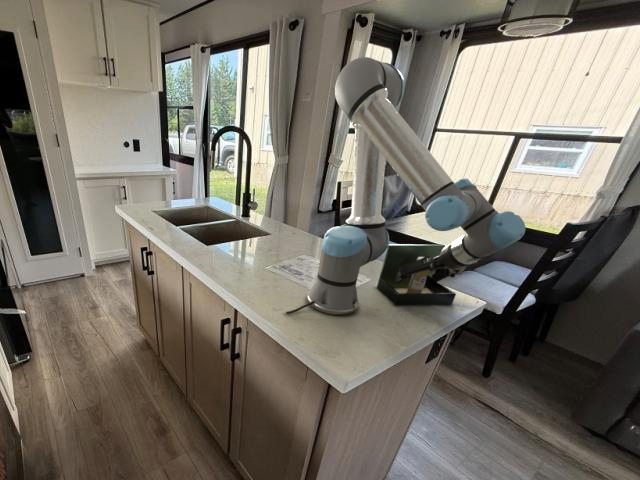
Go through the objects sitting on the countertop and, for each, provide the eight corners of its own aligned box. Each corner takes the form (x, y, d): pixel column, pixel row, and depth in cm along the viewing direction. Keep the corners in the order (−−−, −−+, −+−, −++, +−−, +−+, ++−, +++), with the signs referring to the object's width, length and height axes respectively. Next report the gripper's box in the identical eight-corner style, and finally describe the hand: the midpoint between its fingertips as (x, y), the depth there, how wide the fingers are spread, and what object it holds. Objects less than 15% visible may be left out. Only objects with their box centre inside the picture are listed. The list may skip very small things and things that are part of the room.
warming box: (395, 305, 103) (410, 258, 96) (376, 287, 114) (388, 244, 107) (451, 304, 106) (470, 258, 98) (428, 287, 117) (443, 244, 109)
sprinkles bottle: (413, 300, 107) (426, 262, 101) (402, 294, 111) (414, 257, 104) (423, 297, 109) (436, 260, 103) (411, 291, 113) (424, 255, 106)
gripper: (422, 265, 86) (381, 290, 106) (507, 265, 89) (451, 289, 109) (417, 239, 88) (377, 268, 109) (500, 240, 91) (446, 268, 111)
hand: (414, 279), depth 109 cm, fingers open, 13 cm apart
